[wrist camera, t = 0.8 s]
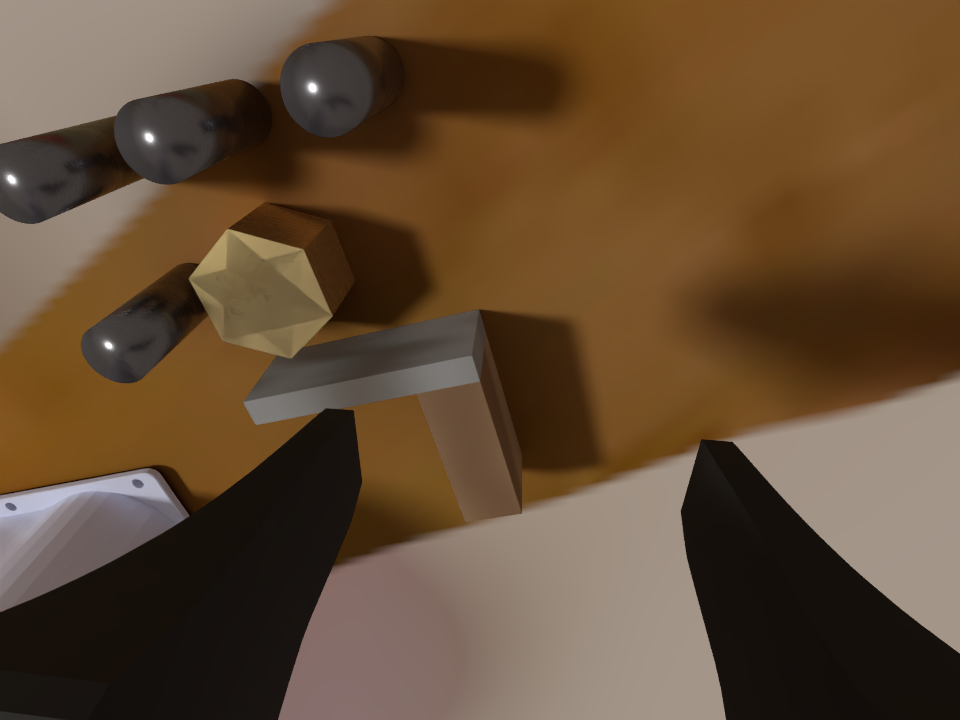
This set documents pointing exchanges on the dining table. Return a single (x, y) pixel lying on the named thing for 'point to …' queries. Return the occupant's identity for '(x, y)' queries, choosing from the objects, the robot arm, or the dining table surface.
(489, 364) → the hook tool
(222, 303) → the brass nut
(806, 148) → the dining table surface
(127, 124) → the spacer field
